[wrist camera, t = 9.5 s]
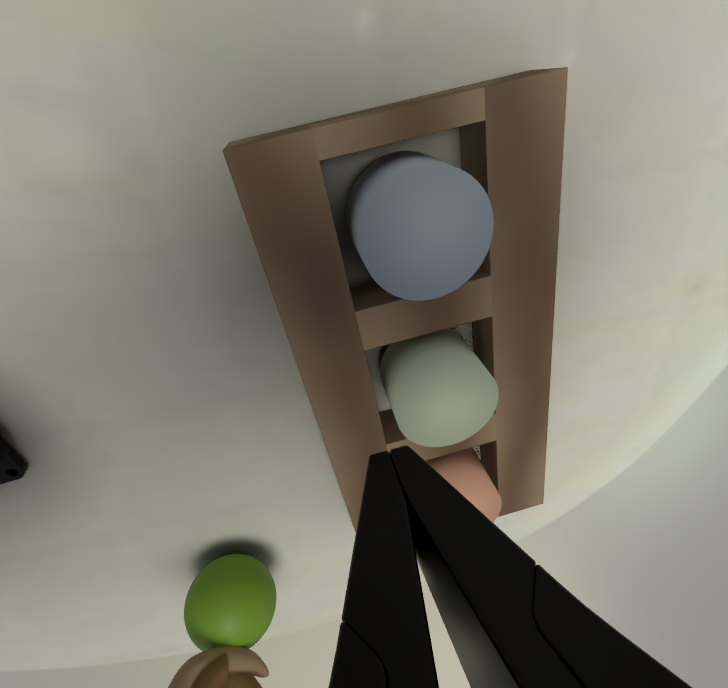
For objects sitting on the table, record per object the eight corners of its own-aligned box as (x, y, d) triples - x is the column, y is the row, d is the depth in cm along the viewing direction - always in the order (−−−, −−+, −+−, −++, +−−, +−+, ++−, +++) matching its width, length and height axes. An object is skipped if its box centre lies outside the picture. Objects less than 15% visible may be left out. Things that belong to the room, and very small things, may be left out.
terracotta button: (407, 501, 27) (424, 551, 24) (396, 451, 25) (413, 500, 22) (477, 481, 28) (502, 528, 25) (474, 429, 25) (500, 474, 22)
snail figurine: (196, 524, 26) (147, 801, 16) (289, 544, 29) (299, 792, 18) (164, 576, 28) (102, 852, 18) (254, 590, 30) (245, 837, 20)
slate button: (358, 279, 19) (374, 314, 16) (333, 167, 16) (347, 183, 13) (460, 252, 19) (495, 282, 16) (452, 137, 17) (491, 148, 14)
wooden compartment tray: (357, 522, 29) (364, 556, 27) (229, 142, 16) (222, 150, 14) (523, 473, 29) (543, 503, 27) (529, 70, 16) (567, 67, 14)
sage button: (387, 411, 23) (404, 458, 20) (371, 338, 21) (388, 380, 18) (471, 388, 23) (499, 431, 20) (465, 313, 21) (497, 350, 18)
